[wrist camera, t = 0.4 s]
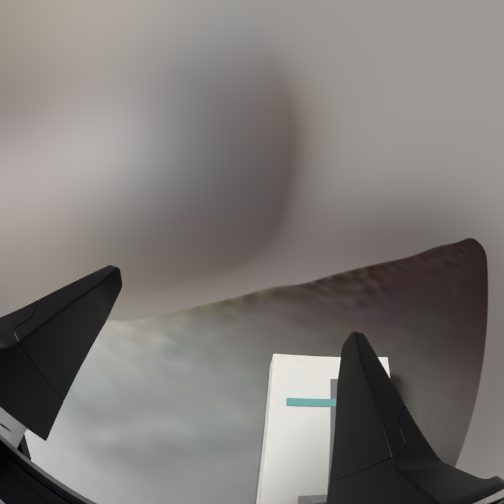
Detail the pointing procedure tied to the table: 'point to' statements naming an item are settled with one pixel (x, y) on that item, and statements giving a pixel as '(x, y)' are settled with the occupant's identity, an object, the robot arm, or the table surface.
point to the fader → (312, 499)
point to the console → (299, 427)
